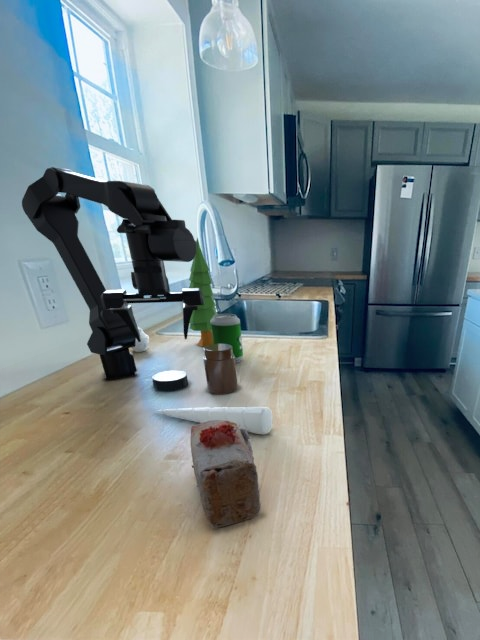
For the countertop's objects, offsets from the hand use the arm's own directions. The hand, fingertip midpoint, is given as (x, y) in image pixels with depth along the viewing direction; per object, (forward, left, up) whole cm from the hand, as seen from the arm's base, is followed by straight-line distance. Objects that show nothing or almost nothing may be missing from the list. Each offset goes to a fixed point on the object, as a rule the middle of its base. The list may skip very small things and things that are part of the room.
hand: (163, 340), depth 78 cm
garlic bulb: (-4, +34, -11) cm, 36 cm away
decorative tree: (+15, +33, -11) cm, 38 cm away
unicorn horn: (+4, -24, -11) cm, 26 cm away
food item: (+1, -45, -11) cm, 46 cm away
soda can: (+17, +13, -11) cm, 24 cm away
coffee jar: (+10, -7, -10) cm, 16 cm away
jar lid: (0, 0, -9) cm, 9 cm away
